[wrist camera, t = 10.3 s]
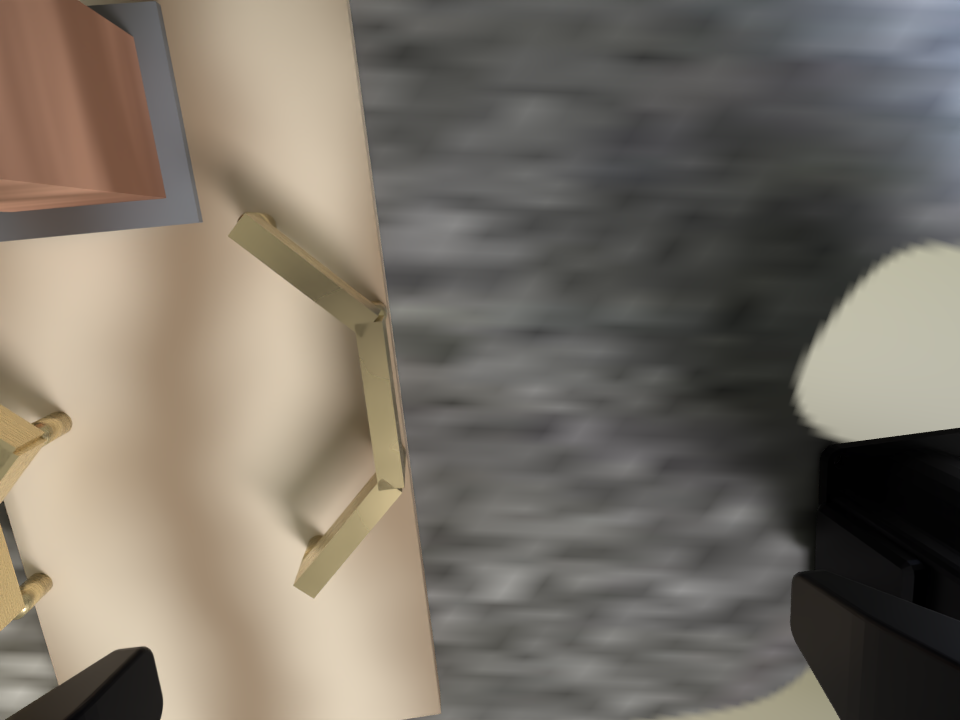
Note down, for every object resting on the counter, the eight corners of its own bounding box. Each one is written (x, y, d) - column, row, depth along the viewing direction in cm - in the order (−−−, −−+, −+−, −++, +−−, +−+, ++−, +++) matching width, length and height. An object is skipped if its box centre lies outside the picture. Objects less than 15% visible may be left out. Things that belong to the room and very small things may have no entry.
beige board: (343, -45, 17) (336, -67, 15) (440, 691, 22) (441, 720, 21) (-119, -14, 16) (-167, -35, 14) (99, 744, 21) (78, 777, 20)
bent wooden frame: (373, 202, 17) (365, 198, 15) (418, 541, 19) (418, 586, 17) (-74, 245, 16) (-162, 248, 14) (30, 594, 19) (-28, 650, 16)
